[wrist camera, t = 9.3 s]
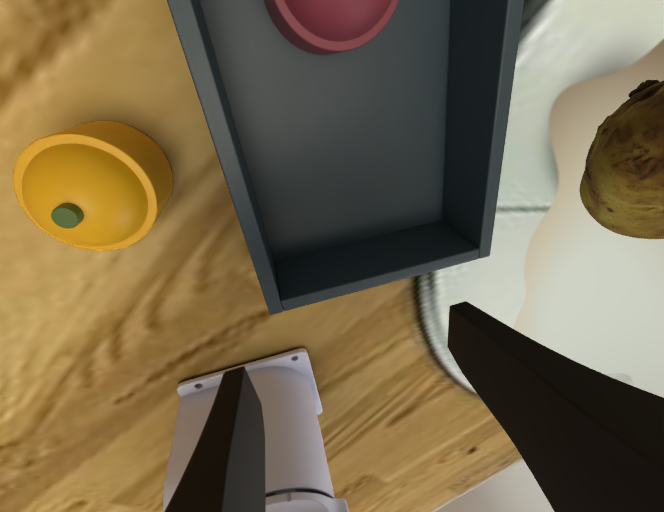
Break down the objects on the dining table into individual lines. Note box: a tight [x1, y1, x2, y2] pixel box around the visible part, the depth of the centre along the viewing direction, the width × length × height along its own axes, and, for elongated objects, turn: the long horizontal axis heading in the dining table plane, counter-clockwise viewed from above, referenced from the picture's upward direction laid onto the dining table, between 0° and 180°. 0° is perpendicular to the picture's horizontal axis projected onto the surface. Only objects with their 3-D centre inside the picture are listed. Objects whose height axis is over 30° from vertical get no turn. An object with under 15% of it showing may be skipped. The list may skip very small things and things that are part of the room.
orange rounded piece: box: [13, 121, 173, 251], centre depth 13 cm, size 5×5×6 cm
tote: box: [167, 0, 524, 315], centre depth 14 cm, size 12×17×5 cm
